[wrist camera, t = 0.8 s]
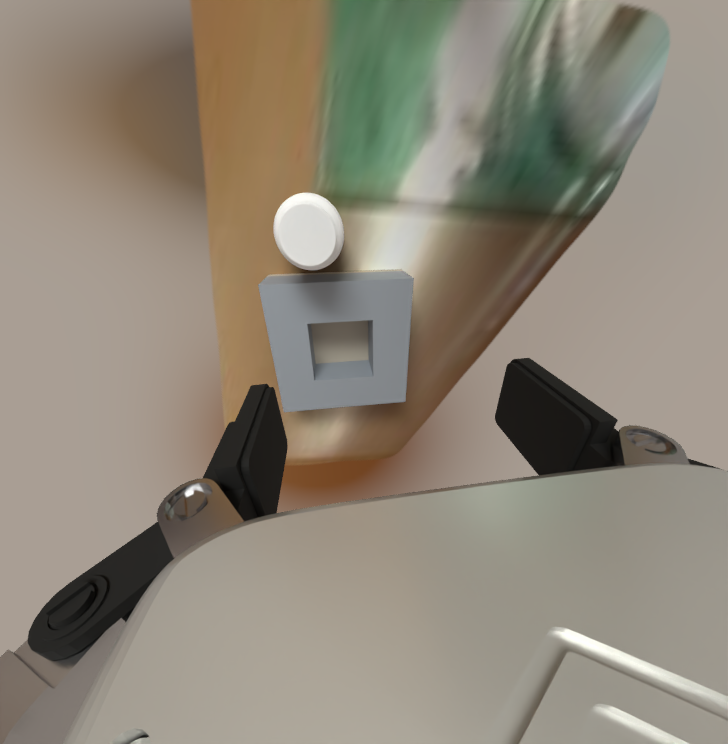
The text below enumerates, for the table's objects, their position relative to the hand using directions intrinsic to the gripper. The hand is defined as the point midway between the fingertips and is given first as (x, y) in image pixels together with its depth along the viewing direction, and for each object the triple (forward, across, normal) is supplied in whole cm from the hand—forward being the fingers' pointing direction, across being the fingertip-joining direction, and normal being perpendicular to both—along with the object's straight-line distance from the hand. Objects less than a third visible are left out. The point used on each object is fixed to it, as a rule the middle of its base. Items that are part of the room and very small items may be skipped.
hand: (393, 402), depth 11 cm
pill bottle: (+22, +3, -6) cm, 23 cm away
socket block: (+22, +2, +6) cm, 23 cm away
